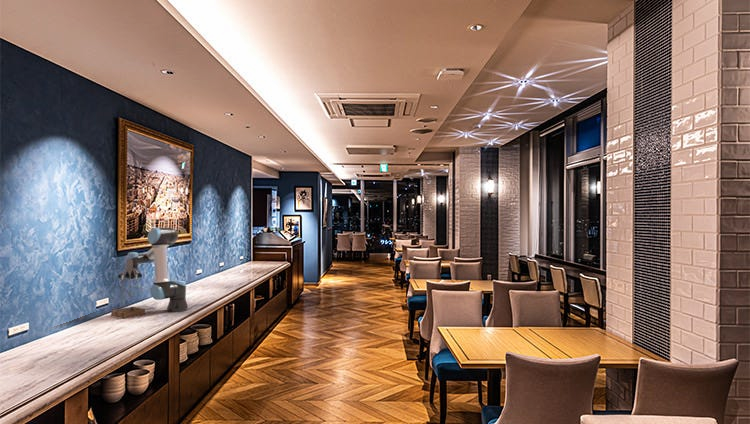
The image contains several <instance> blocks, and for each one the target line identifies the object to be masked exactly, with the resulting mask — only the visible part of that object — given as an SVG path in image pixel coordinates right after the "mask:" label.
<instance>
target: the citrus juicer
mask: <svg viewBox="0 0 750 424" xmlns="http://www.w3.org/2000/svg"><path fill="white" fill-rule="evenodd" d="M127 271H128V273H129V275H131V272H132V271H133V272H134V275H135V278H134V279H135V284H136V289H137V290H136V291H137V297H138V298H139V297H140V290H139V289H140V288H139V284H138V283H139V282H138V278H137V279H136V273H135V270H134V267H133V260H132V259H131V258H128V259H127V258H126V260H125V268H124V272H123V273H124V277H123V280H122V286H121V287H122V289H121V299H124V287H125V286H124V285H125V278H126V277H125V274H126V272H127ZM131 280H132V279H131V276H130V279H129V295H130V299H129V300H130V301H132V299H133V297H132V283H131V282H132V281H131Z"/></svg>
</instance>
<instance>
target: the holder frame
mask: <svg viewBox="0 0 750 424" xmlns="http://www.w3.org/2000/svg"><path fill="white" fill-rule="evenodd" d="M110 313H111V315H110V316H111V317H114V318H118V319H129V318H135V317H140V316H144V315H146V310H145V309H143V308H138V307H137V306H129V307H122V308H118V309H117V308H116V309H111V311H110Z"/></svg>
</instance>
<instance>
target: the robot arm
mask: <svg viewBox="0 0 750 424" xmlns="http://www.w3.org/2000/svg"><path fill="white" fill-rule="evenodd" d="M178 238H179V233H178V231H177V230H176V229H175V228H173V227H154V228H151V229H150V230H149V231H148V234H147V241H148V243H149V244H151V248H150V249H149V250H147V252H145V253H141V254H139V252H136V251H132V252H130V251H129V252H128V253H127V258H126V260H127V259H128V258H131V259H132V260H133V267H134V270H135V273H136V279H137V280H138V279H139V278H143V274H142V272H139V269H138V268H139V265H140V264H151V263H154V276H155V280H154V281H153V282H152V285H151V286H150V289H149V290H150V291H149V293H150V296H151V297H152V298H153V300H155V301H159V300H161V301H162V300H167V299H169V301H168V305H167V307H166V311H167V312H171V313H172V312H173V313H177V312H180V313H181V312H184V311H185V312H186V311H188V309H189V307H188V303H187V302H188V301H187V300H186V296H187V295H186V294H187V293H186V292H187V283H186V281H184V280H177V279H176V280H175V279H173V280H172V279H171V280H170V279H169V276H168V258H167V256H168V255H167V248H168V247H169V246H173V245H174V244H175V243H176V242H177V241H178ZM130 276H131V280H133V279H135V275H134V272H133V271H132V272H131V275H129V273H128V271H126V274H125V278H126V279H129V280H130ZM123 277H124V272H123V273H122V272H121V273H120V274H118V275H117V279H120V280H121V281H123ZM136 279H135V280H136Z"/></svg>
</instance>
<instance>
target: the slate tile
mask: <svg viewBox="0 0 750 424" xmlns="http://www.w3.org/2000/svg"><path fill="white" fill-rule="evenodd" d="M136 307H138V308H143V309H145V311H149V310H155V306H149V305H146V304H145V305H137V306H136Z"/></svg>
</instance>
